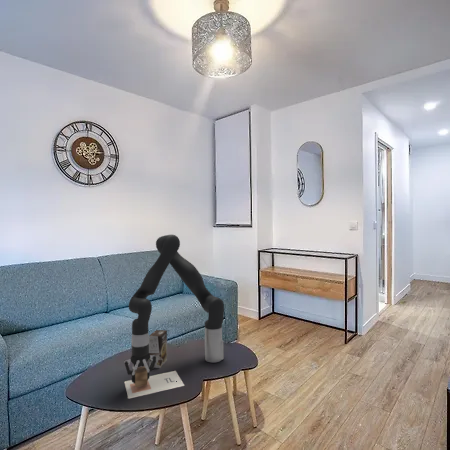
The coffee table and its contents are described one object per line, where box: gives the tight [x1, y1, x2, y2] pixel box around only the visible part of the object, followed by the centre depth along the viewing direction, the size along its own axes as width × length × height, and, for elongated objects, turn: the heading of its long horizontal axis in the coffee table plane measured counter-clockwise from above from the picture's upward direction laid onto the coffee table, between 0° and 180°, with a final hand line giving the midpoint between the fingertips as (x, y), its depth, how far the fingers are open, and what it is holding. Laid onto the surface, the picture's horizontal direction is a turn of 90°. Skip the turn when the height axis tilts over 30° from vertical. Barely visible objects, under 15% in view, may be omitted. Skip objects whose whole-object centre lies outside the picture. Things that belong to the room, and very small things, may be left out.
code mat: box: [124, 370, 185, 399], centre depth 135 cm, size 24×15×1 cm, turn 115°
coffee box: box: [148, 329, 168, 369], centre depth 155 cm, size 9×6×16 cm
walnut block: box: [134, 366, 147, 387], centre depth 133 cm, size 5×5×6 cm
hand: (140, 381), depth 133 cm, fingers closed on walnut block, 5 cm apart
